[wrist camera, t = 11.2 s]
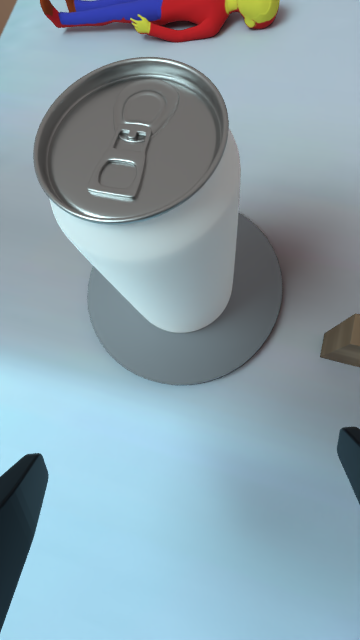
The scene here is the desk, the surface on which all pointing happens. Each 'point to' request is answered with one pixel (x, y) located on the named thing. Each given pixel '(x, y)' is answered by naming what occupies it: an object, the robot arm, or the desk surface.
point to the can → (147, 185)
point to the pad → (206, 343)
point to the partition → (343, 342)
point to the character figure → (164, 15)
